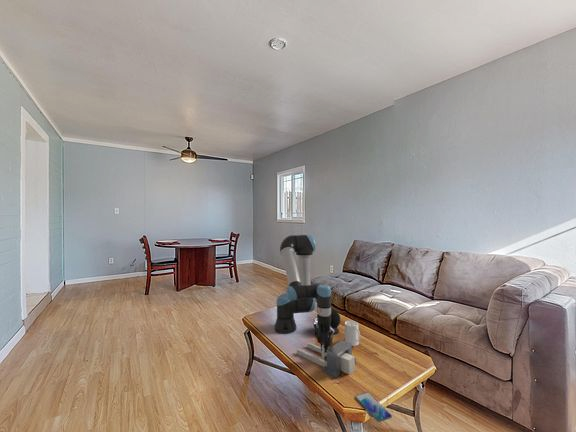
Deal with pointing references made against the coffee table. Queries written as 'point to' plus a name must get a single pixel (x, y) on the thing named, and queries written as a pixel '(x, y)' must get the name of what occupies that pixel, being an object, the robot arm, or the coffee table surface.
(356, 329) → the mug
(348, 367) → the plug
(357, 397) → the smartphone
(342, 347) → the housing
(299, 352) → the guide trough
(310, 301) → the robot arm
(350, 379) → the coffee table surface
